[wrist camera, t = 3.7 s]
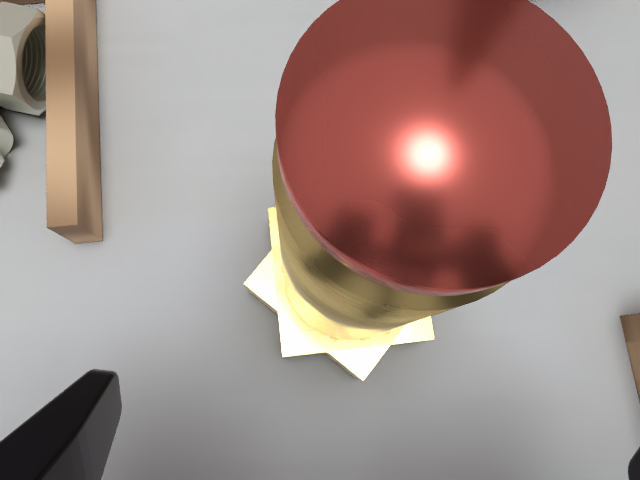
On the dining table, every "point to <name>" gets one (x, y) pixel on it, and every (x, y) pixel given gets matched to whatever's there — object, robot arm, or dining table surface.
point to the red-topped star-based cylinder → (423, 167)
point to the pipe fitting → (21, 65)
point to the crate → (633, 344)
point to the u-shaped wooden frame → (72, 120)
